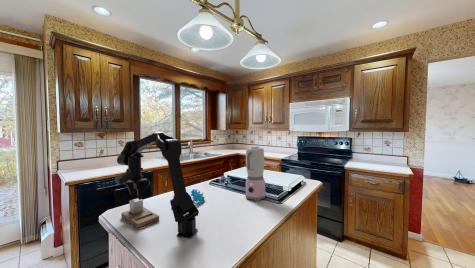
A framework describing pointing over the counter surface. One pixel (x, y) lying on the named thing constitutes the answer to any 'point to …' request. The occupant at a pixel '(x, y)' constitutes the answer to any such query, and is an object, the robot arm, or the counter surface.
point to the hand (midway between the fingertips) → (135, 197)
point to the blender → (255, 173)
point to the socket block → (140, 218)
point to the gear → (197, 196)
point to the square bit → (136, 206)
